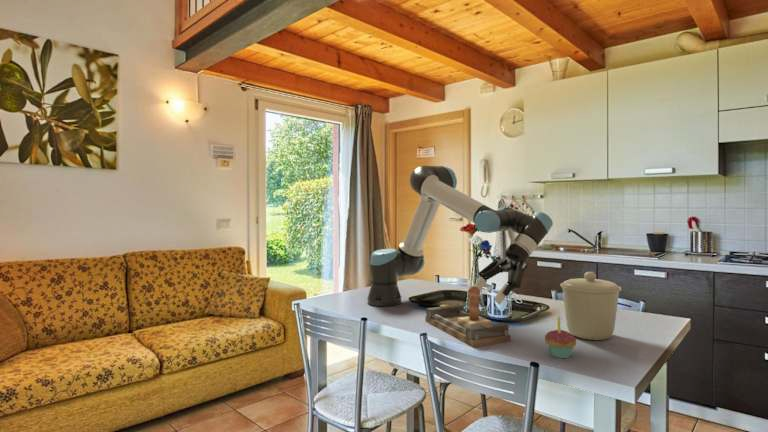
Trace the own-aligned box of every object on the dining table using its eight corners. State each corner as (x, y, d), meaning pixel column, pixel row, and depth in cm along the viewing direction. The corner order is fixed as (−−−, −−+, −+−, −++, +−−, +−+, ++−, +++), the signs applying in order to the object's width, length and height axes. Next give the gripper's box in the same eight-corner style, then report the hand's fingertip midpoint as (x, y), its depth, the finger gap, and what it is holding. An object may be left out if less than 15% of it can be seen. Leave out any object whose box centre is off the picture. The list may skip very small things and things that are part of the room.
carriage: (457, 326, 148) (457, 285, 147) (477, 323, 151) (477, 283, 150) (470, 333, 140) (470, 289, 140) (491, 330, 143) (491, 287, 143)
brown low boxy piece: (425, 321, 164) (425, 306, 163) (457, 316, 169) (457, 302, 169) (472, 347, 134) (472, 329, 134) (510, 341, 139) (510, 323, 139)
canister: (551, 336, 143) (551, 272, 142) (571, 324, 156) (571, 266, 155) (611, 348, 131) (611, 278, 130) (628, 334, 144) (628, 271, 143)
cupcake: (573, 362, 120) (573, 319, 120) (541, 357, 125) (541, 315, 124) (578, 353, 127) (578, 312, 127) (547, 348, 132) (547, 308, 131)
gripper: (552, 261, 140) (515, 313, 135) (504, 253, 163) (470, 297, 158) (539, 246, 138) (500, 297, 133) (492, 240, 161) (457, 284, 156)
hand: (484, 297), depth 146 cm, fingers open, 13 cm apart
